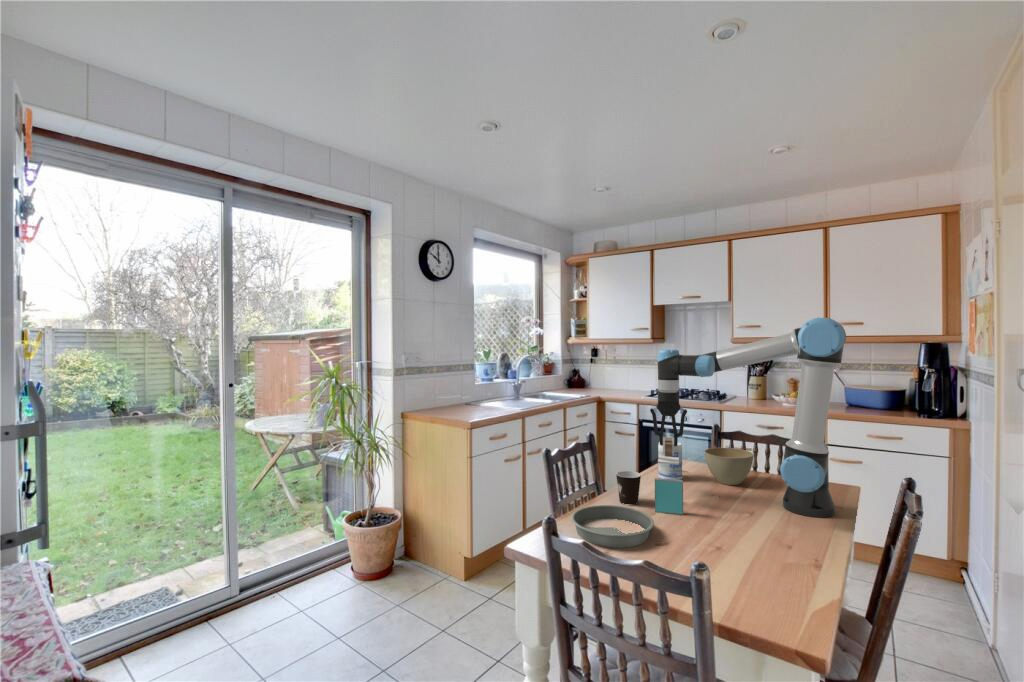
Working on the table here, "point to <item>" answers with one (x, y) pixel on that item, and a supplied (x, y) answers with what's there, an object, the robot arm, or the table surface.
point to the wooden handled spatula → (668, 454)
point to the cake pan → (609, 534)
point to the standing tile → (669, 496)
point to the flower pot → (729, 464)
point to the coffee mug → (628, 486)
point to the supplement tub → (671, 469)
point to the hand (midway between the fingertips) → (668, 454)
